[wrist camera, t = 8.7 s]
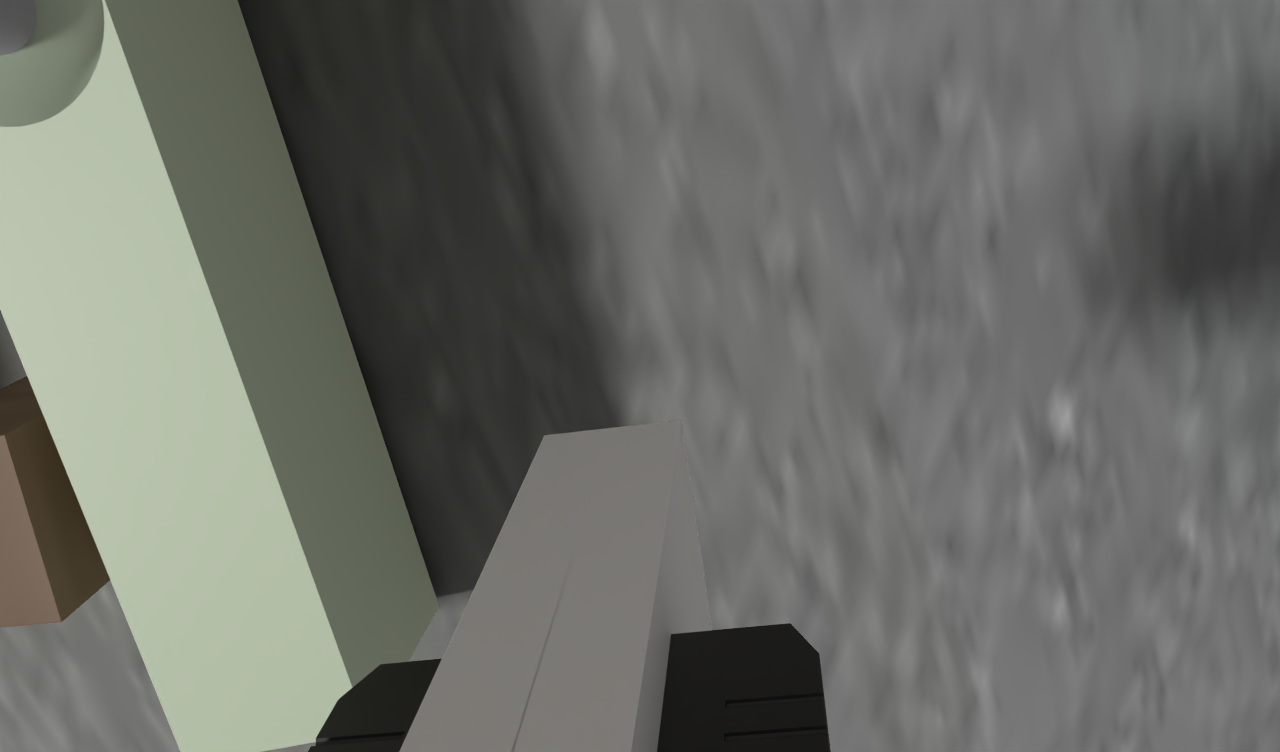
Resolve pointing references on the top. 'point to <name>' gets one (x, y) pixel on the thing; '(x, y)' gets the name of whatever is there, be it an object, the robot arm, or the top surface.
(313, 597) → the hinged leg
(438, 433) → the top surface
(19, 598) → the stool frame
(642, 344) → the top surface
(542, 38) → the top surface
